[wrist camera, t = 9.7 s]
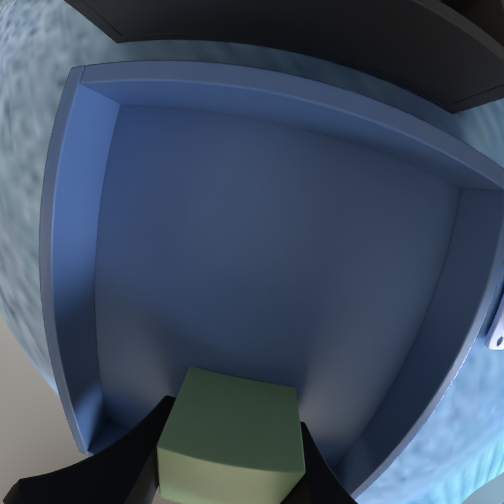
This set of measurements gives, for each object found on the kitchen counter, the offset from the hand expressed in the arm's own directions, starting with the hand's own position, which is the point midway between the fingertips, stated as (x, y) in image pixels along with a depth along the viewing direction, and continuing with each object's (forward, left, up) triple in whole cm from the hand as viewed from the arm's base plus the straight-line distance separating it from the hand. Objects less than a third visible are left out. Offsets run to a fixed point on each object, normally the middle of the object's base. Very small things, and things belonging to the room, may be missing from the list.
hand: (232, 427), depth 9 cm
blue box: (0, -3, -1) cm, 4 cm away
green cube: (0, 0, -1) cm, 1 cm away
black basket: (+1, -19, -1) cm, 20 cm away
